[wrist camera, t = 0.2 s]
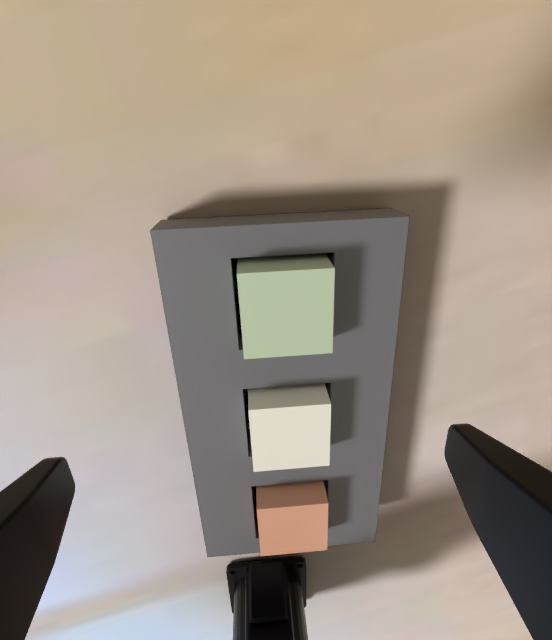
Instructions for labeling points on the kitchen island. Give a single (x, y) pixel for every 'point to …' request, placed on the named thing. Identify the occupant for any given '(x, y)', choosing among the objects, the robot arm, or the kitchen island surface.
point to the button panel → (282, 361)
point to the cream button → (289, 426)
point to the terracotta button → (292, 517)
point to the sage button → (286, 305)
